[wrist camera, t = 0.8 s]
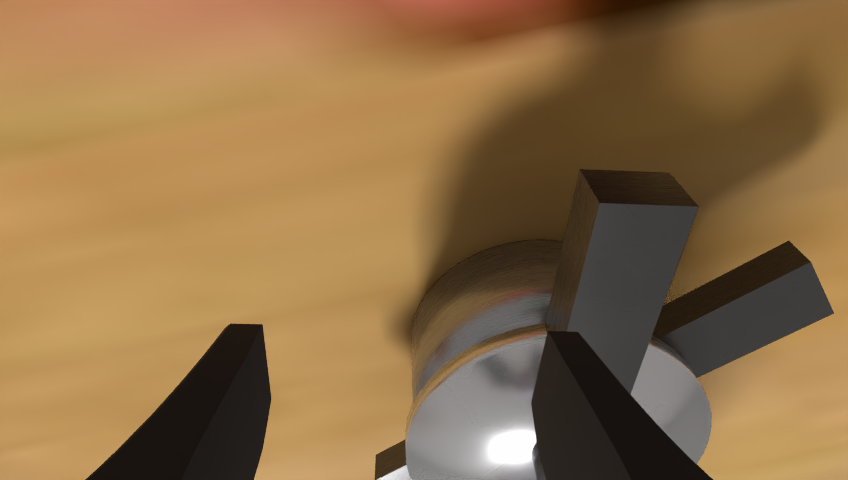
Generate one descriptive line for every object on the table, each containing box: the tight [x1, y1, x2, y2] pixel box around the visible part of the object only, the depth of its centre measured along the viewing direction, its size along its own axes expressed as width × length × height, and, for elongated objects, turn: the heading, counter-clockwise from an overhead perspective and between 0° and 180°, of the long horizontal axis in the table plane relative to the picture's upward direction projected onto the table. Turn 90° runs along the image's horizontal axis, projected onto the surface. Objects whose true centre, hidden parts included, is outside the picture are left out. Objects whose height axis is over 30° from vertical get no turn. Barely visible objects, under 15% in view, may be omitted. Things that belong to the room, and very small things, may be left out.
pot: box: [375, 240, 834, 480], centre depth 23 cm, size 17×10×5 cm, turn 127°
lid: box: [405, 169, 711, 480], centre depth 19 cm, size 16×11×2 cm
